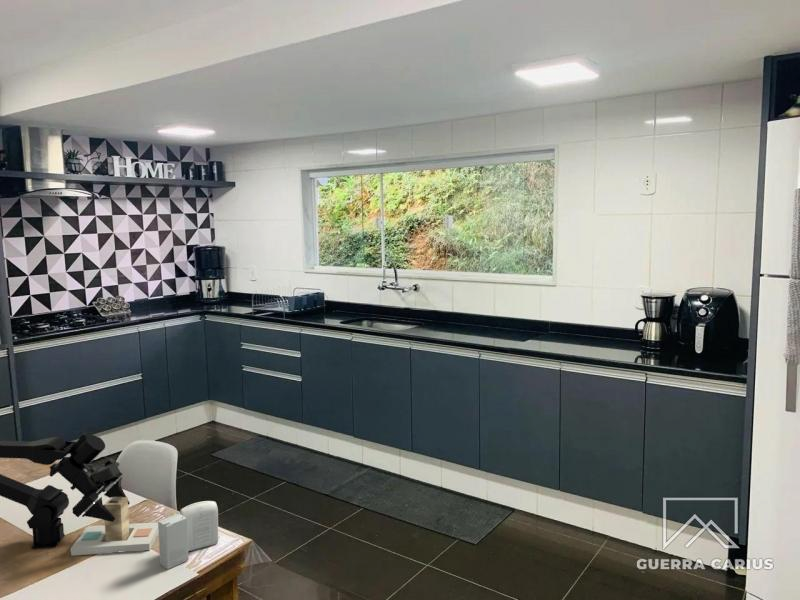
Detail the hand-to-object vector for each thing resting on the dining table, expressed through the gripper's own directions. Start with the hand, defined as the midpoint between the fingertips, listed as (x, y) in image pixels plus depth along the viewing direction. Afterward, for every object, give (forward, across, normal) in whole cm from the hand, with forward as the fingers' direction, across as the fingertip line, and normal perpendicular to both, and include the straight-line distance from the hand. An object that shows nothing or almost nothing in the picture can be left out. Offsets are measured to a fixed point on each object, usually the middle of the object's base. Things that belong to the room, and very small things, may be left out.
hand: (121, 512), depth 165 cm
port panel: (+5, 0, +7) cm, 9 cm away
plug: (+5, 0, +7) cm, 9 cm away
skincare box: (+19, -11, -6) cm, 23 cm away
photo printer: (+22, -2, -9) cm, 24 cm away
